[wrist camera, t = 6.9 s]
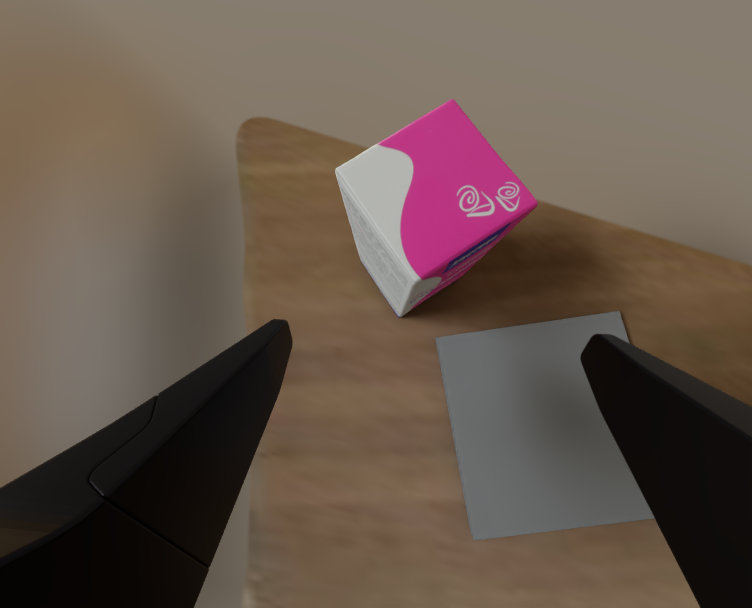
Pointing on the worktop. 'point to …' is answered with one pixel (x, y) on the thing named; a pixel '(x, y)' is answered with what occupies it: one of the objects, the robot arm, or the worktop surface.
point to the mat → (534, 430)
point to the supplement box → (429, 205)
